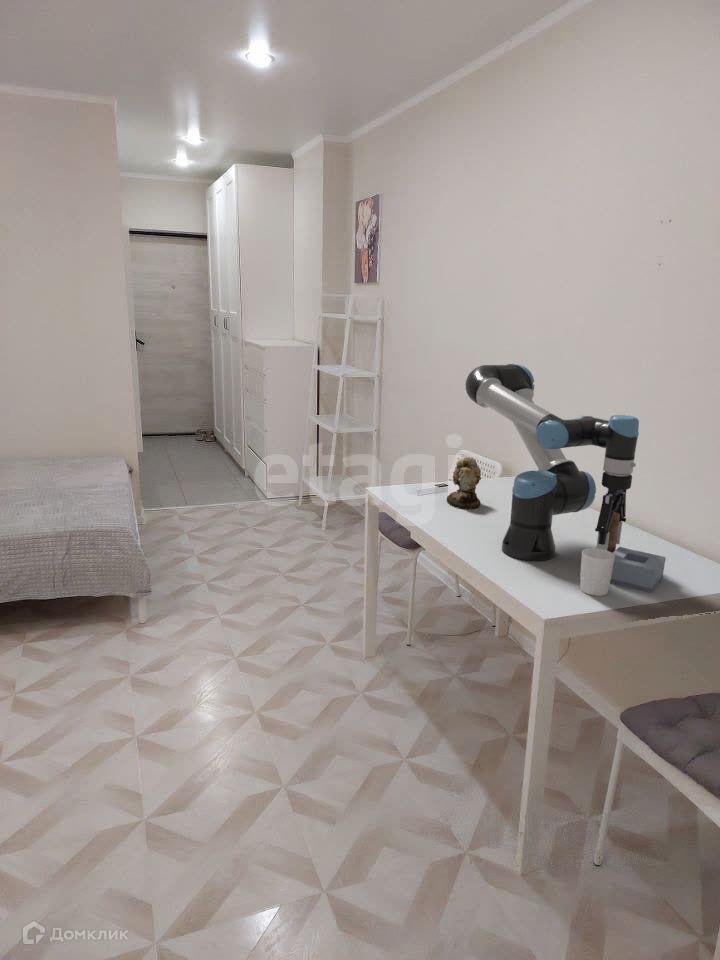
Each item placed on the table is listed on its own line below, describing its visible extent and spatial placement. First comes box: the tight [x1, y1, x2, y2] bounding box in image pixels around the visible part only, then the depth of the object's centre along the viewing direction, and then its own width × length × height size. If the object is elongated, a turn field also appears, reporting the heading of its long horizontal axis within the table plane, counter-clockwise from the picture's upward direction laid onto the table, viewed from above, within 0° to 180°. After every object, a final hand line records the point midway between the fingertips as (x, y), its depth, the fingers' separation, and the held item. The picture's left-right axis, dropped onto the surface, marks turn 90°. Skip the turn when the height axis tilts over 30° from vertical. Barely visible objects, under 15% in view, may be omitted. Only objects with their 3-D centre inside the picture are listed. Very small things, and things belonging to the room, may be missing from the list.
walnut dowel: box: [602, 512, 620, 553], centre depth 186 cm, size 4×4×15 cm
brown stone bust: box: [446, 456, 482, 510], centre depth 242 cm, size 18×12×17 cm, turn 6°
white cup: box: [579, 547, 615, 597], centre depth 169 cm, size 8×8×10 cm
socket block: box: [610, 546, 666, 593], centre depth 178 cm, size 12×12×6 cm
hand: (607, 548), depth 187 cm, fingers open, 11 cm apart
